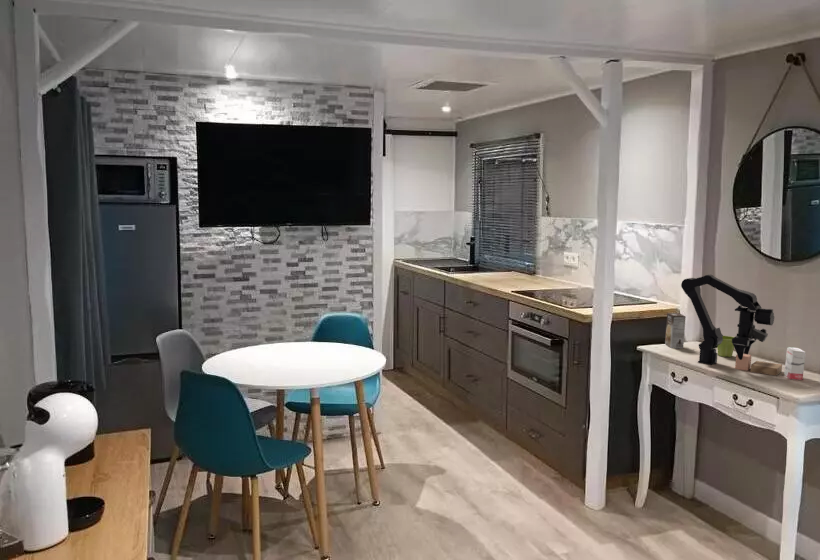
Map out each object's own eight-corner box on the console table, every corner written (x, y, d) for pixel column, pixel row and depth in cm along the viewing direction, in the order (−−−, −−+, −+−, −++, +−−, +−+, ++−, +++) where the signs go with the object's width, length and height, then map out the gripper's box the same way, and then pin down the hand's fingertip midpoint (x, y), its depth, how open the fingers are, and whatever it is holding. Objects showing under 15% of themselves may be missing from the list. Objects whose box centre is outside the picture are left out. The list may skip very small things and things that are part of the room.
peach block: (735, 368, 305) (736, 355, 305) (738, 366, 309) (739, 353, 309) (747, 370, 302) (748, 356, 302) (750, 368, 306) (751, 355, 306)
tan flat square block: (750, 371, 300) (751, 364, 300) (756, 367, 308) (756, 360, 308) (776, 375, 294) (777, 368, 294) (781, 371, 302) (782, 364, 302)
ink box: (803, 380, 287) (806, 351, 286) (790, 379, 288) (792, 350, 287) (796, 375, 296) (799, 347, 294) (783, 374, 297) (786, 346, 295)
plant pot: (730, 359, 324) (731, 340, 324) (710, 355, 332) (711, 337, 331) (739, 356, 331) (740, 338, 330) (719, 352, 338) (720, 334, 337)
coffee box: (664, 344, 355) (666, 312, 353) (677, 344, 355) (679, 313, 353) (670, 348, 346) (673, 315, 344) (684, 348, 346) (686, 316, 344)
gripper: (761, 327, 291) (758, 364, 293) (771, 322, 306) (768, 357, 308) (732, 324, 298) (729, 360, 300) (743, 318, 313) (741, 353, 315)
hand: (743, 357), depth 305 cm, fingers open, 9 cm apart
